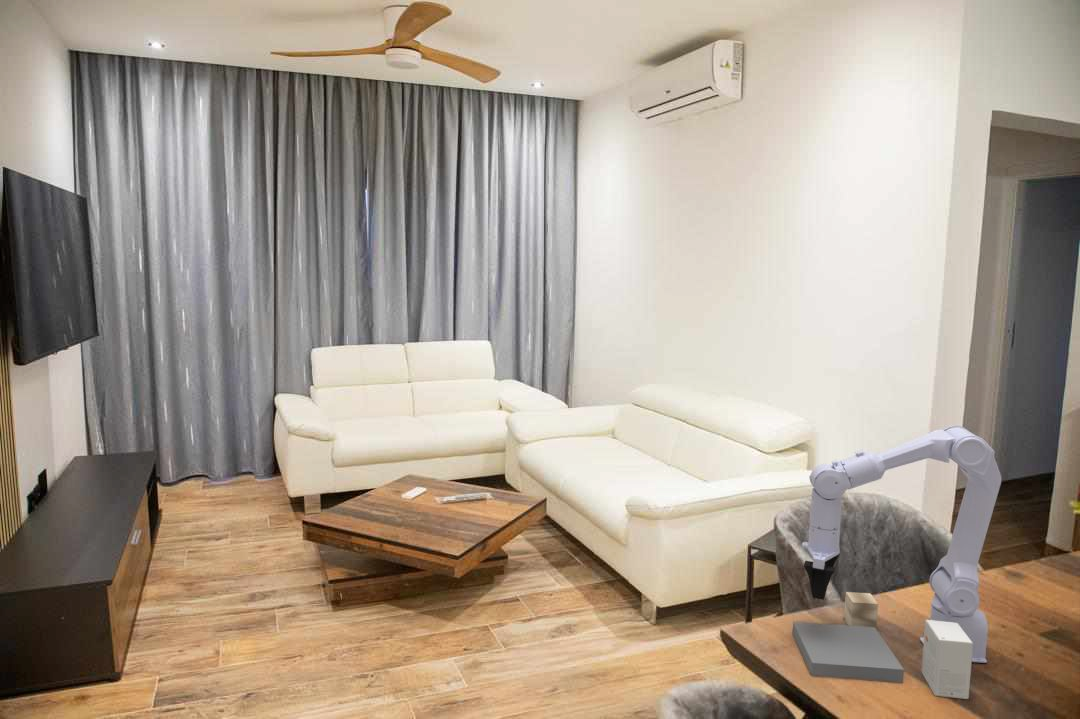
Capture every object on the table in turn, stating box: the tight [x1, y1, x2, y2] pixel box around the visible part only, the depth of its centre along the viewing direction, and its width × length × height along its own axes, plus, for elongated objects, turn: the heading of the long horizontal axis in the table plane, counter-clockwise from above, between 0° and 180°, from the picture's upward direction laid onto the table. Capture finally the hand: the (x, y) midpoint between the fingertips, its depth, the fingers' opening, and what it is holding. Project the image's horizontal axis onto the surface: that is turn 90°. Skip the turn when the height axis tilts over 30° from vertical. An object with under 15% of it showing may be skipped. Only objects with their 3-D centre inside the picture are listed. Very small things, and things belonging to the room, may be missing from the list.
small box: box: [920, 619, 973, 700], centre depth 134 cm, size 8×6×10 cm
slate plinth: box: [791, 621, 905, 684], centre depth 144 cm, size 16×16×2 cm
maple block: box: [843, 591, 879, 629], centre depth 156 cm, size 5×5×6 cm
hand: (820, 590), depth 150 cm, fingers open, 7 cm apart
